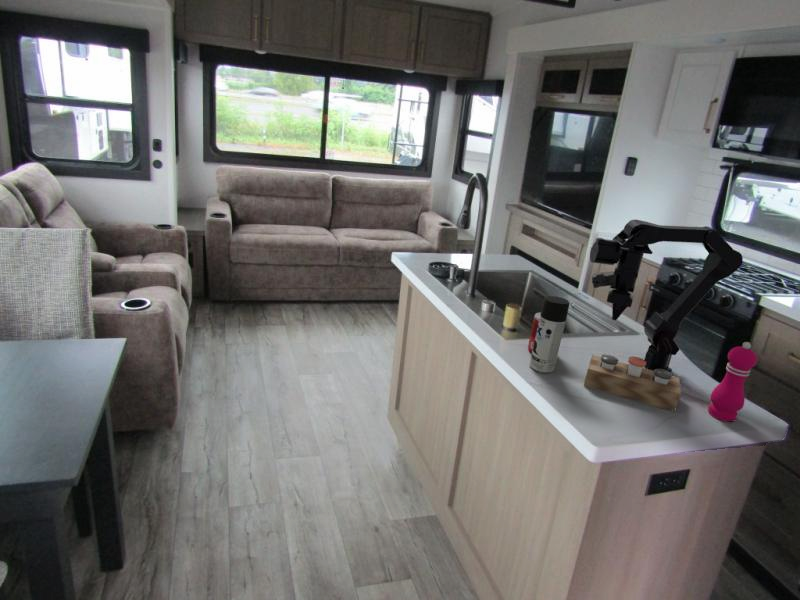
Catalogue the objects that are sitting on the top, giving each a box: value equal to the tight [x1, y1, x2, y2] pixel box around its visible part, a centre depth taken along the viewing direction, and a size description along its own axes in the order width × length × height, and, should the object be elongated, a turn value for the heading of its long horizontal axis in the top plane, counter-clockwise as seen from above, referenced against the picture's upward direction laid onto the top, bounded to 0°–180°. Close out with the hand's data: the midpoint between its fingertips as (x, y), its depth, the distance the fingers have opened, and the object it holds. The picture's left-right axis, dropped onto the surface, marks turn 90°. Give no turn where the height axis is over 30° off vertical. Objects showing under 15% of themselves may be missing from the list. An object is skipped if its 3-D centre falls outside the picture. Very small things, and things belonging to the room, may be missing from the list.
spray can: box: [529, 295, 571, 374], centre depth 148 cm, size 7×7×20 cm
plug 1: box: [600, 354, 619, 370], centre depth 146 cm, size 4×4×7 cm
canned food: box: [527, 312, 541, 354], centre depth 160 cm, size 8×8×11 cm
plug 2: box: [653, 369, 673, 385], centre depth 141 cm, size 4×4×7 cm
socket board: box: [583, 354, 682, 412], centre depth 144 cm, size 22×10×5 cm, turn 66°
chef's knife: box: [680, 384, 712, 404], centre depth 148 cm, size 19×1×3 cm
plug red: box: [627, 356, 646, 378], centre depth 143 cm, size 4×4×7 cm
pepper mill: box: [707, 341, 758, 422], centre depth 134 cm, size 7×7×20 cm
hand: (614, 319), depth 156 cm, fingers closed
